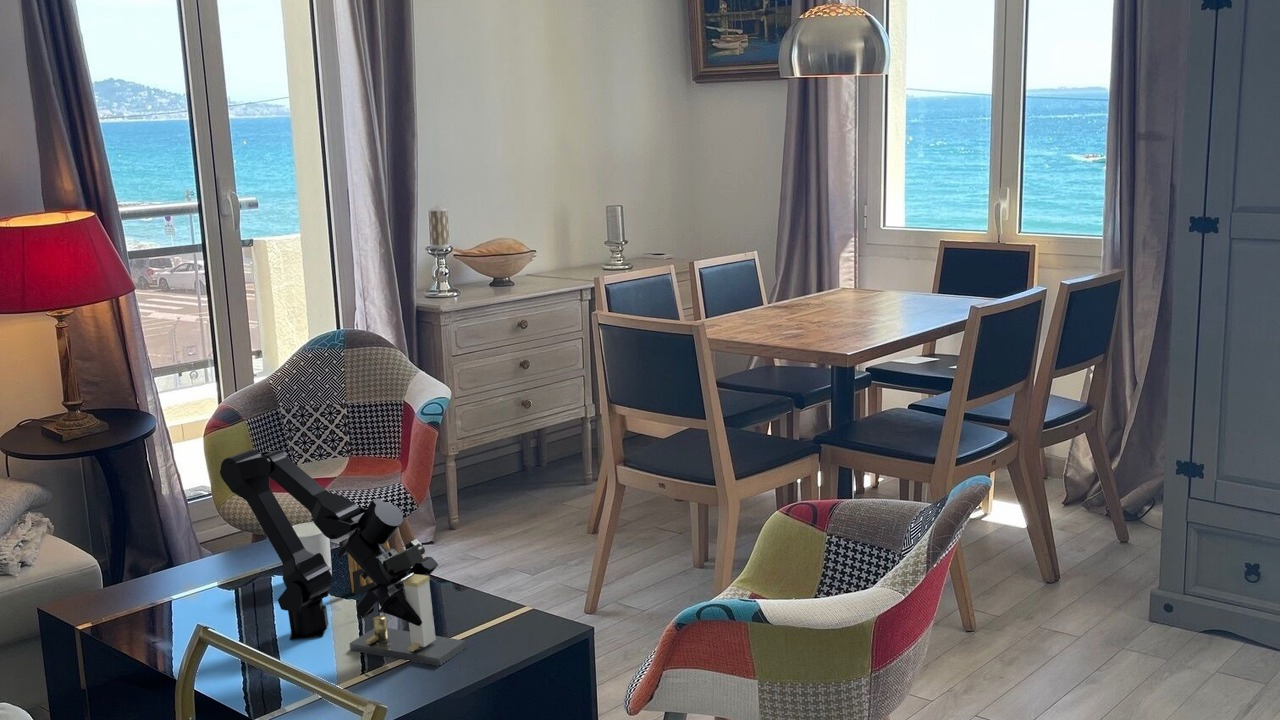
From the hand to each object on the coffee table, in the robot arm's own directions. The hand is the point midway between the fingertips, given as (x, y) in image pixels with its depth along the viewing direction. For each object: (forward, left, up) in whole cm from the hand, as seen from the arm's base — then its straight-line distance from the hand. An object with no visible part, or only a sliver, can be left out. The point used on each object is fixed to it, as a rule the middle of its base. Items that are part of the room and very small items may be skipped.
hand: (427, 620), depth 220 cm
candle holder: (-29, +45, -7) cm, 54 cm away
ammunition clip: (-15, +38, -7) cm, 42 cm away
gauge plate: (-4, +3, -7) cm, 9 cm away
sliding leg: (-2, 0, -5) cm, 5 cm away
